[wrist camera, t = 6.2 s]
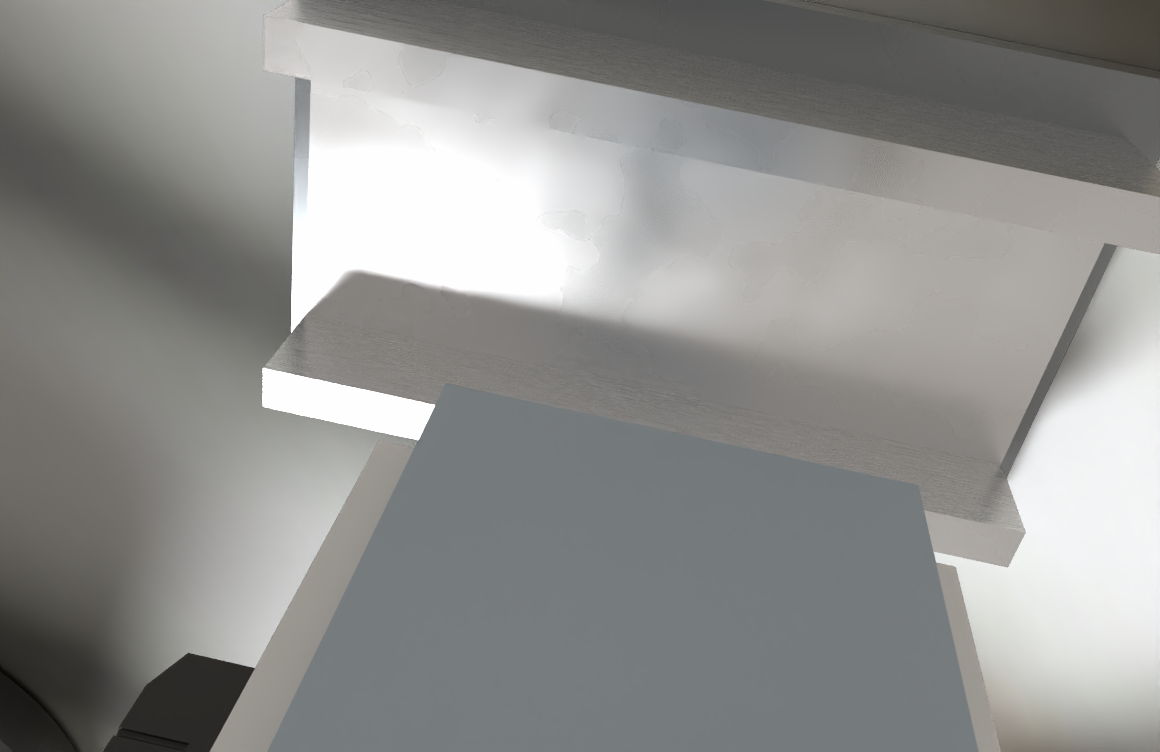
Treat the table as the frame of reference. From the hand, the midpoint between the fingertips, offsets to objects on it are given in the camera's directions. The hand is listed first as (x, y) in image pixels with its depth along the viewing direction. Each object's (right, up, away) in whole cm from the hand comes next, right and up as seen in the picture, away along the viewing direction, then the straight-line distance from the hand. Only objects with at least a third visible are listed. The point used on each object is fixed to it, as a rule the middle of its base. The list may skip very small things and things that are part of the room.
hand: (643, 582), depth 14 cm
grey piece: (+2, +6, +10) cm, 12 cm away
